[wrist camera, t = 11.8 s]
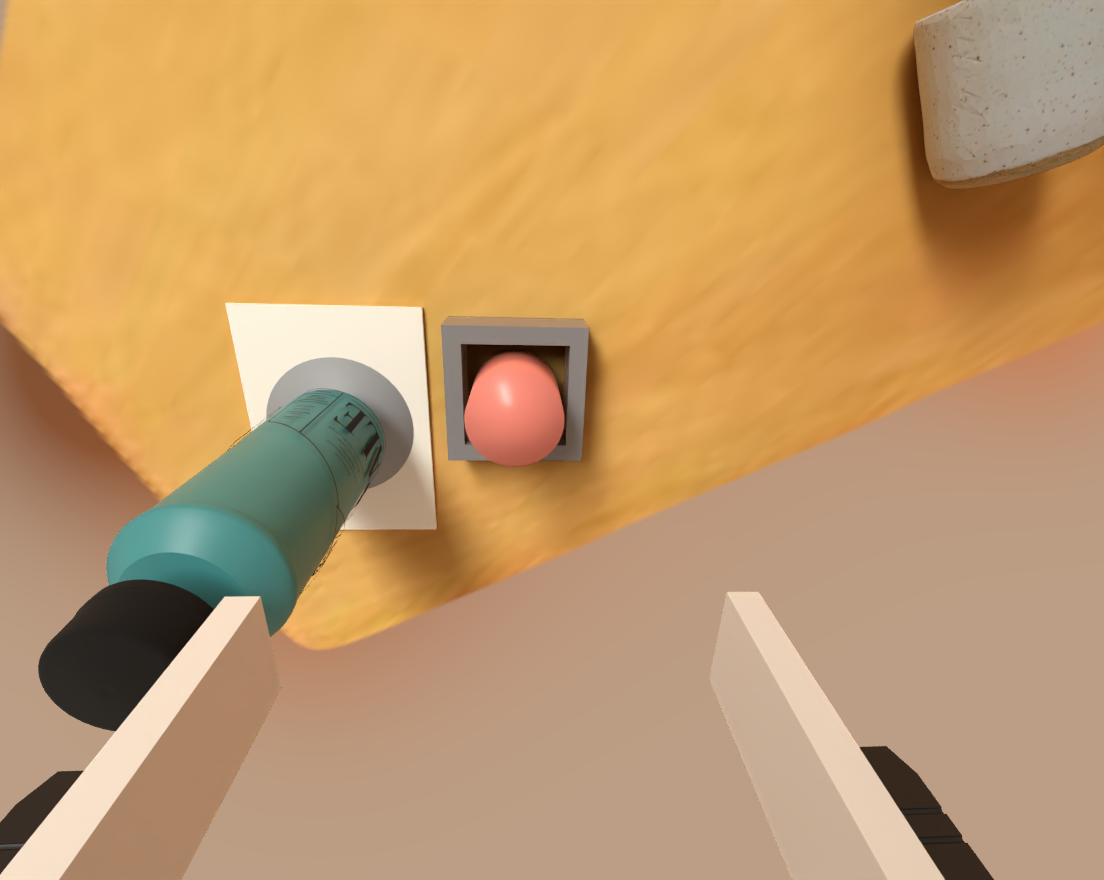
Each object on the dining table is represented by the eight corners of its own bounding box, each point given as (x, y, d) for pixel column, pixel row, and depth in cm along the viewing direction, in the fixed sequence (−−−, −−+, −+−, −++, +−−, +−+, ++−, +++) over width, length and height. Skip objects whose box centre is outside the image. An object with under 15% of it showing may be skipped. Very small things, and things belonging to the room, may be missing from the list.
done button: (471, 349, 29) (462, 371, 25) (559, 350, 29) (566, 373, 25) (474, 431, 31) (466, 466, 26) (556, 431, 31) (562, 466, 27)
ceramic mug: (898, 202, 29) (1022, 193, 22) (875, 40, 26) (1010, -30, 19) (1085, 119, 28) (1277, 81, 21) (1084, -59, 25) (1307, -172, 18)
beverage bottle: (267, 429, 32) (-78, 703, 14) (331, 353, 30) (39, 547, 12) (353, 492, 34) (155, 806, 16) (418, 424, 32) (281, 683, 14)
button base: (448, 316, 30) (441, 325, 28) (582, 319, 31) (589, 328, 28) (454, 441, 33) (448, 460, 31) (576, 441, 34) (581, 460, 31)
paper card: (228, 302, 29) (225, 303, 29) (422, 307, 30) (421, 307, 30) (274, 527, 35) (272, 530, 35) (436, 526, 36) (436, 529, 35)
